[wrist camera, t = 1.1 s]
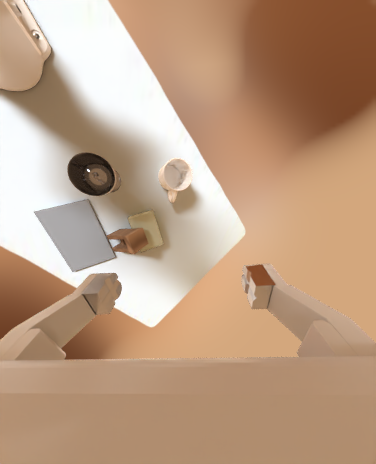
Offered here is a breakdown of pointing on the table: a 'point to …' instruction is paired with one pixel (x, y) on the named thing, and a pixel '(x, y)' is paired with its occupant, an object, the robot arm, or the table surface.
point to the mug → (175, 177)
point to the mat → (76, 234)
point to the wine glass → (93, 174)
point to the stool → (129, 240)
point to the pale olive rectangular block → (147, 228)
